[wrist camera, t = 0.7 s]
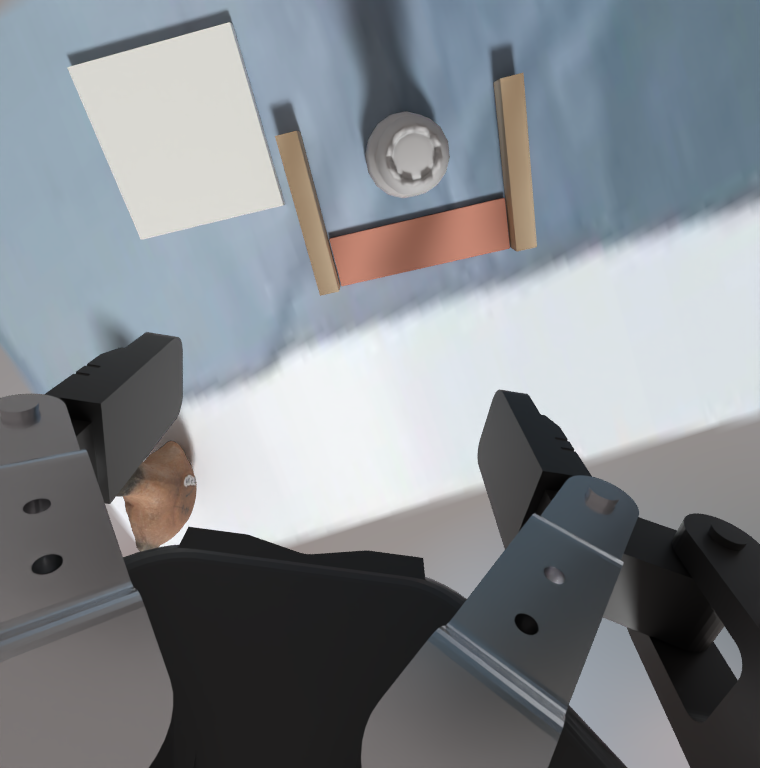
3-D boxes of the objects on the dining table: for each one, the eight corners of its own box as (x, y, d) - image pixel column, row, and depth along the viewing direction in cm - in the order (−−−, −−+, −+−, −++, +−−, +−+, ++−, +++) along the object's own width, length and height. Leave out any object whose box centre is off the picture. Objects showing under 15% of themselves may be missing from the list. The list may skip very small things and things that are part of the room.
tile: (232, 24, 25) (229, 22, 24) (285, 204, 29) (283, 205, 28) (73, 69, 26) (67, 67, 25) (145, 238, 29) (141, 239, 29)
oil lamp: (137, 404, 34) (74, 470, 27) (192, 404, 34) (144, 469, 27) (162, 503, 38) (113, 583, 31) (212, 502, 38) (175, 582, 31)
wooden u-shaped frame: (515, 76, 26) (523, 72, 25) (529, 242, 30) (536, 247, 28) (279, 137, 27) (275, 136, 26) (322, 289, 31) (320, 295, 30)
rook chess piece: (353, 131, 27) (346, 123, 20) (427, 98, 26) (447, 76, 19) (382, 209, 29) (385, 227, 22) (452, 179, 28) (479, 188, 21)
